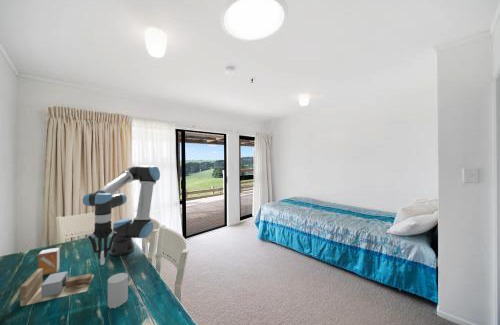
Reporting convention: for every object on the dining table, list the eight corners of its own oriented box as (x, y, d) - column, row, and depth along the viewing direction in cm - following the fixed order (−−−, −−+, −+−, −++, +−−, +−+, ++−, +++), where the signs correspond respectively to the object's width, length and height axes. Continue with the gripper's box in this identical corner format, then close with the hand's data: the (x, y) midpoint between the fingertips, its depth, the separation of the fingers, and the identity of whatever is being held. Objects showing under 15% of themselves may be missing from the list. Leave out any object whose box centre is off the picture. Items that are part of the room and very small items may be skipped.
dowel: (91, 280, 111) (91, 273, 111) (89, 284, 107) (89, 277, 107) (68, 285, 106) (68, 277, 106) (65, 289, 102) (65, 282, 102)
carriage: (67, 281, 108) (67, 271, 108) (60, 293, 99) (60, 281, 99) (50, 285, 105) (50, 274, 105) (41, 297, 96) (41, 285, 96)
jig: (94, 276, 116) (94, 259, 116) (86, 293, 102) (86, 273, 102) (37, 288, 105) (37, 269, 105) (20, 308, 91) (20, 286, 91)
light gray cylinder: (131, 298, 99) (131, 274, 98) (115, 310, 91) (116, 284, 91) (119, 294, 101) (119, 271, 101) (103, 305, 94) (103, 280, 93)
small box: (38, 276, 115) (37, 254, 115) (41, 271, 120) (41, 250, 120) (57, 272, 119) (57, 251, 119) (59, 267, 125) (59, 246, 124)
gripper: (118, 218, 117) (117, 258, 117) (90, 220, 111) (89, 263, 111) (116, 221, 110) (115, 264, 110) (86, 224, 104) (85, 269, 104)
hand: (102, 263), depth 111 cm, fingers closed
